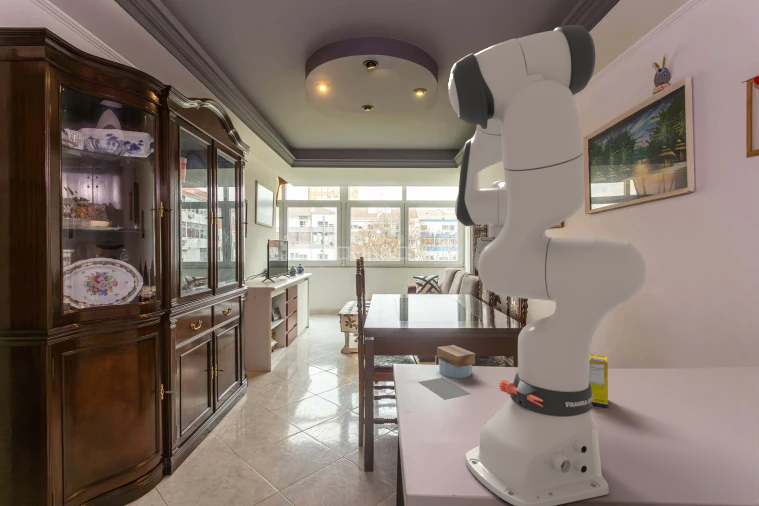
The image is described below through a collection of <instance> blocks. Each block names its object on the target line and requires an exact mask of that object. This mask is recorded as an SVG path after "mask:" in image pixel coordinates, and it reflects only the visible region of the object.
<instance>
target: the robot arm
mask: <svg viewBox="0 0 759 506" xmlns="http://www.w3.org/2000/svg"><path fill="white" fill-rule="evenodd" d="M595 65H596V48H595V42H594V39H593V37H592V35H591V33H590V32H589V31H588V30H587V29H586V28H585V27H584V26H583V25H580V24H579V25H578V24H570V25H562V26H561V25H560V26H557V27H555V28H554V29H553V30H548V31H542V32H538V33H533V34H529V35H525V36H522V37H518V38H511V39H508V40H505V41H502V42H499V43H497V44H494V45H492V46H489V47H488V48H485V49H483V50H481V51H479V52H477V53H475V54H474V53H473V52H472V53H470V54H468V55H466V56H464V57H463V58H461V59H459V60H458V61H455V63H454V64H453V66H452V68H451V70H450V73H449V74H450V75H449V82H448V99H449V103H450V104H451V107H452V109H453V111H454V112H455V114H457V117H458V119H460V120H462V121H463V122H465V123H467V124H470V125H476V128H475V129H476V130H475V133H474V134H473V136H472V138H470V139H468V140H467V141H466V142H465V143H464V146H463V149H462V155H461V156H462V157H461V162H460V170H459V183H458V194H457V197H456V200H455V205H454V213H455V217H456V220H457V221H459V222H460V223H461V224H463V226H465V227H473V226H479V225H489V226H488V237H487V236H486V237H485V236H481V237H480V238H479V239H478V240H477V241H476V248H475V253H474V265H473V266H474V268H475V269H476V271H477V272H478V277H479V279H480V282H481V284H482V285H483V287H484V288H485V289H486V290H487V291H489V292H491V293H495V294H499V295H503V296H506V297H509V298H518V299H529V300H530V299H531V300H543V301H551V302H554V303H555V309H554V313H553V314H551V315H549V316H546V317H542V318H539V319H537V320H535V321H532V322H530V323H528V324H526V325H525V326H524V327H523V328H522V329H521V330H520V332H519V334H518V337H517V372H516V373H515V377H514V380H513V382H509V381H508V380H507V379H502V380H500V383H499V386H498V387H499V390H500V391H501V392H504V393H506V394H507V395H509V396H510V397H509V398H508V399H507V401H506V402H505V403H504V404H503V405H501V407H500V408H499V409H498V410H497V411H496V412H495V413H494V414H493V415H492V417H490V419H489V420H487V422H486V423H485V424H483V426H482V429H481V431H480V437H479V445H477V446H475V447H473V448H472V449H470V450H467V451H466V453H465V457H464V460H465V464H466V466H467V468H468V469H469V471H470V472H471V474H473V476H474V477H475V478H476V479H478V481H479V482H480V483H481V484H482V485H483V486H485V487H486V488H487V489H488V490H489V491H490V492H492V493H493V494H495V495H496V496H497V497H499V498H501V500H503V501H505V502H507V503H509V504H510V505H513V506H558V505H563V504H567V503H574V502H578V501H582V500H583V501H584V500H588V499H592V498H597V497H600V496H607V495H609V494H610V490H609V483H608V481H607V480H606V479H605V477H604V476H603V472H602V463H601V462H602V461H601V453H600V445H599V435H598V431H597V429H596V426H595V425H594V422H593V418H592V416H591V410H592V408H593V405H592V400H593V394H592V387H591V385H590V384H589V361H590V354H591V350H592V344H593V340H594V336H595V334H596V332H597V329H598V328H599V327H600V325H601V323H602V322H603V321H604V320H605V319H606V317H607V316H609V315H610V313H612V312H614V310H616V309H618V308H619V307H620V306H622V305H624V304H626V303H628V302H629V301H631V300H633V298H635V297H636V296H637V295H638V294H639V293H640V291H641V290H642V289H643V286H644V285H645V282H646V279H647V266H646V262H645V259H644V256H643V255H642V253H641V252H640V250H638V248H637V247H636V246H634V245H633V244H632V243H631V242H630V241H627V240H626V241H625V240H620V239H614V238H608V237H600V236H599V237H598V236H583V237H582V236H580V237H579V236H576V237H552V236H547V234H546V231H547V230H549V229H550V228H552V227H554V226H556V225H558V224H561V223H563V222H566V221H567V220H568V219H570V218H571V217H573V216H574V215H576V214H577V212H578V211H579V210H580V209H581V208H582V206H583V205H584V202H585V199H586V186H585V185H586V183H585V169H584V168H585V167H584V164H585V163H584V147H583V146H584V145H583V137H582V129H581V124H580V118H579V114H578V113H579V112H578V110H577V105H576V102H575V99H574V96H575V95H576V94H579V93H580V92H582V91H583V90H584V89H585V88H586V87H587V86H588V83H590V80H591V79H592V77H593V75H594V73H595ZM499 163H503V170H504V171H503V172H504V178H505V179H500V180H498V181H497V180H496V181H495V182H493V183H492V184H491V187H490V188H476V187H475V185H476V180H477V179H476V178H477V175H478V174H479V173H480V172H481V171H483V170H484V169H487V168H489V167H491V166H494V165H496V164H499Z"/></svg>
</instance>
